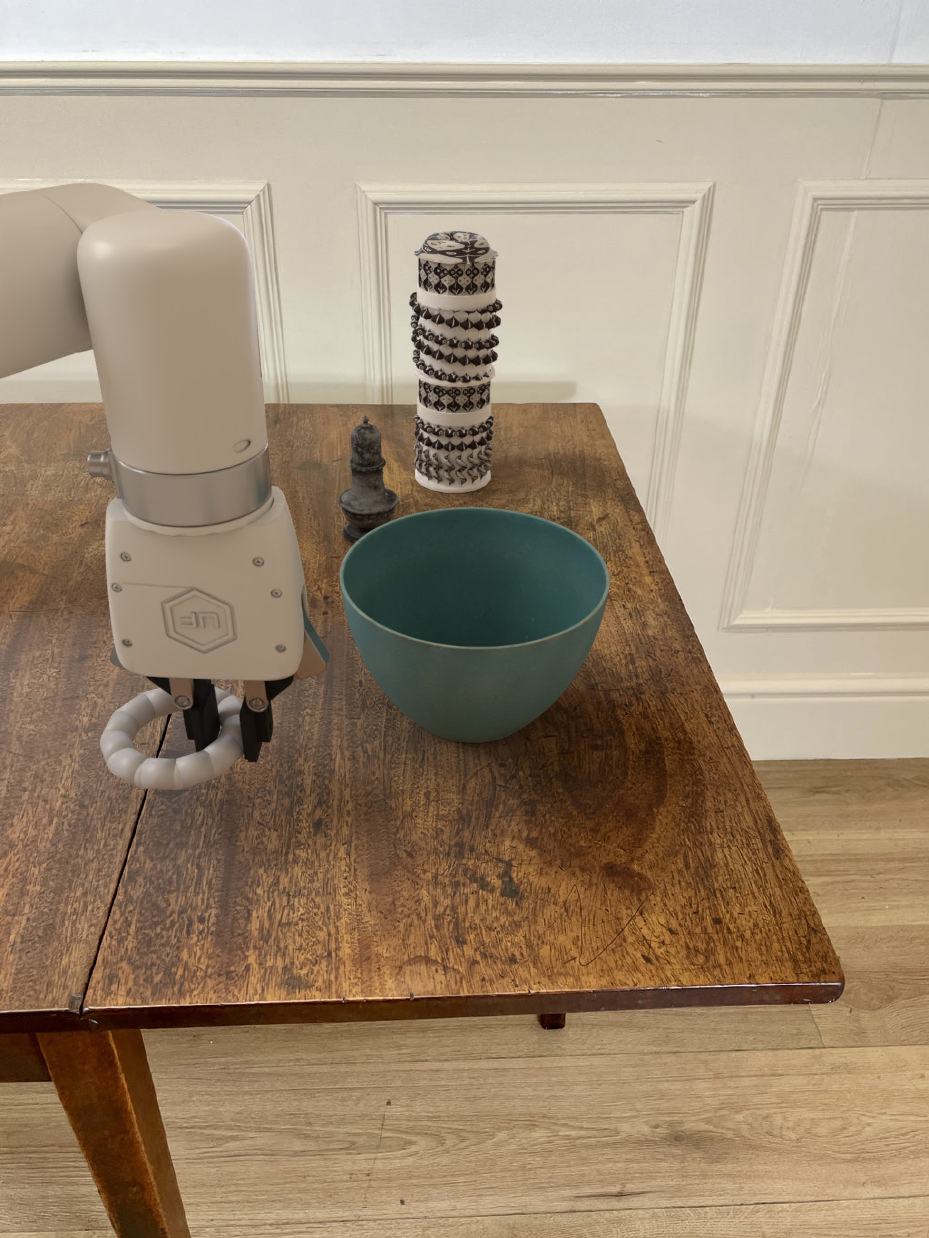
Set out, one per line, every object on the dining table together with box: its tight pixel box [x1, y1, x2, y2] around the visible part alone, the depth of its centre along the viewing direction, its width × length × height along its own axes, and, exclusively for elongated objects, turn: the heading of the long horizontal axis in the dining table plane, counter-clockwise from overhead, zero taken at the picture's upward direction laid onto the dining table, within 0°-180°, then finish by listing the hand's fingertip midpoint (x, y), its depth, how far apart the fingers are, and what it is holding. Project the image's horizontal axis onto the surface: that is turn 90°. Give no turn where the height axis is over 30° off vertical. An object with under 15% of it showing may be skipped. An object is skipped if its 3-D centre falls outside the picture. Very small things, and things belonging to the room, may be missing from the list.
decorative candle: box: [408, 230, 504, 494], centre depth 97 cm, size 9×9×25 cm
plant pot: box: [338, 506, 611, 744], centre depth 67 cm, size 18×18×12 cm
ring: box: [99, 686, 244, 791], centre depth 58 cm, size 9×9×2 cm
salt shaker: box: [337, 415, 399, 544], centre depth 89 cm, size 6×6×12 cm
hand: (232, 744), depth 58 cm, fingers closed on ring, 2 cm apart
